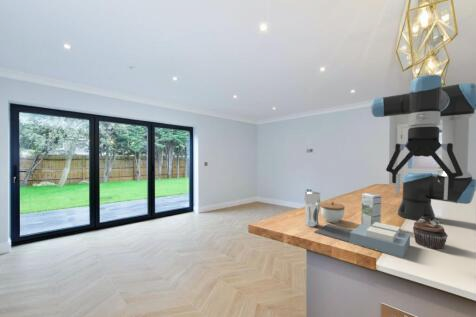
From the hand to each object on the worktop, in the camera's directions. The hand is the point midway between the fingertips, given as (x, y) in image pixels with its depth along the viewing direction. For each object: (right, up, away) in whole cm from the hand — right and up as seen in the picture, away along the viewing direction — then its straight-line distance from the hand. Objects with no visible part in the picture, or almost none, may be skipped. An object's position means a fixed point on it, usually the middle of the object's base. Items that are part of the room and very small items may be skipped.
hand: (420, 196), depth 70 cm
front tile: (-7, -16, +8) cm, 19 cm away
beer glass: (-24, -19, +31) cm, 43 cm away
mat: (-16, -19, +22) cm, 33 cm away
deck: (-6, -20, +11) cm, 23 cm away
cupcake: (+13, -20, +11) cm, 26 cm away
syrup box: (+3, -19, +32) cm, 37 cm away
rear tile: (-2, -16, +13) cm, 20 cm away
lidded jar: (-12, -19, +37) cm, 43 cm away
